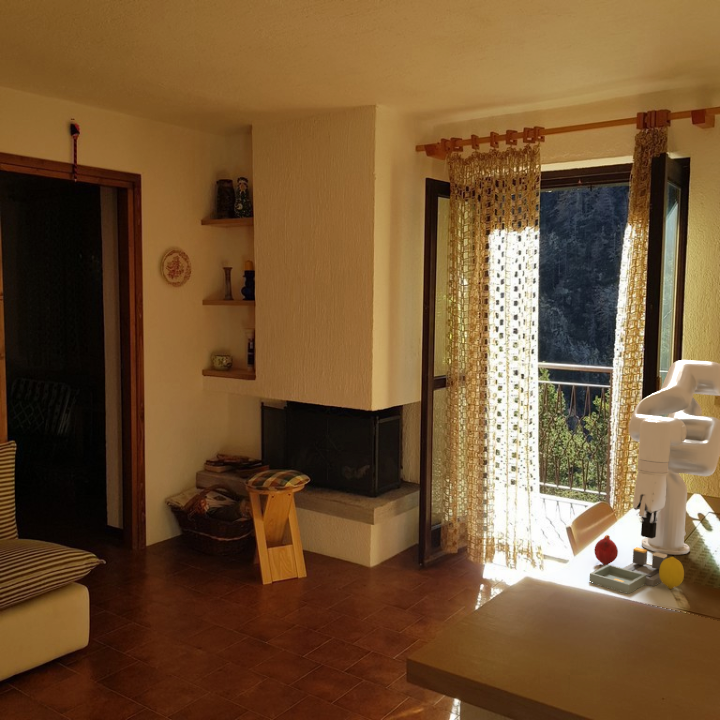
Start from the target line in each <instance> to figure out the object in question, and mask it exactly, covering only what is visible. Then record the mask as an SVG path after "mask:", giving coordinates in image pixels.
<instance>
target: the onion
mask: <svg viewBox="0 0 720 720" xmlns="http://www.w3.org/2000/svg"><path fill="white" fill-rule="evenodd" d="M618 554H619V550H618V547H617V544H616V543H615V542H614V541H613V540H612V539H611V538H610V535H609V534H606V535H605V536H604V537H603V538H601V539H600V540H598V542H597V543H596V544H595V546H594V556H595V558H596V559H597V560H598V561H599V563H601V564H602V565H603V566H606V565H608V564H609V565H610V564H611V563H613V562H614V561H616V559H617V557H618Z"/></svg>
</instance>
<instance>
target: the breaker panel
mask: <svg viewBox="0 0 720 720" xmlns="http://www.w3.org/2000/svg"><path fill="white" fill-rule="evenodd" d="M622 568H623V569H627V570H631V571H634V572H638V573H641V574H645V575H646V579H645V585H647V586H651V587H655V586H657V585H658V584H660V583H661V582H662V581H661V579H660V576H659V569H655V568H652V563H650V562H647V564H645V565H640V564H636V563H633V562H632V563H630V564H628V565H626V566H624V567H622Z"/></svg>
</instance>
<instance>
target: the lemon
mask: <svg viewBox="0 0 720 720" xmlns="http://www.w3.org/2000/svg"><path fill="white" fill-rule="evenodd" d="M659 576H660V579H661V581H662V585H664V586H666V587H667V588H668V590H672V589H674V588H677V587H679V586H680V585H681V584H682V583H683V581H684V577H685V569H684V566H683V563H682V562H681V561H680V560H678V559H677V558H675V557H674V556H670V557H667V558H666V559H665V560H663V561H662V563H661V565H660V569H659Z"/></svg>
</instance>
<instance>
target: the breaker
mask: <svg viewBox="0 0 720 720" xmlns="http://www.w3.org/2000/svg"><path fill="white" fill-rule="evenodd" d="M666 558H668V554H663V553H658V552H653V553H652V559H651V562H652V563H651V564H652V568H655V569H660V565H661V563H662V561H663V560H665V559H666Z"/></svg>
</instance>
